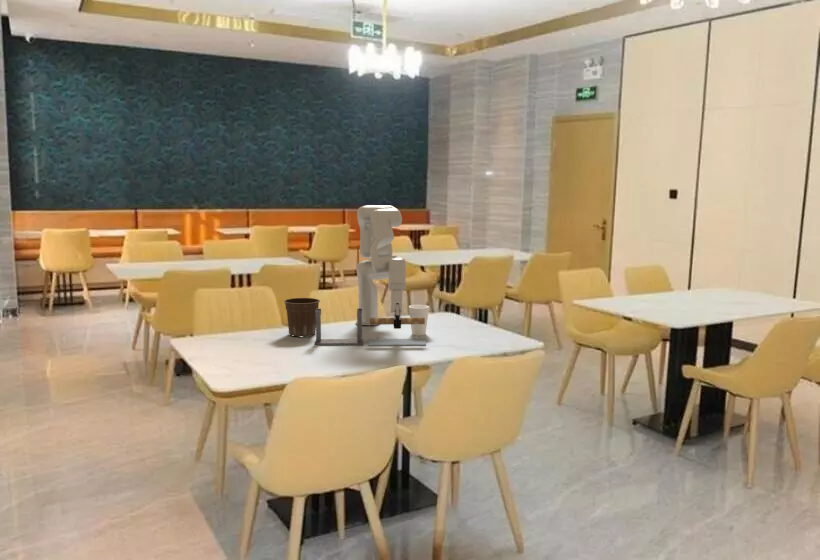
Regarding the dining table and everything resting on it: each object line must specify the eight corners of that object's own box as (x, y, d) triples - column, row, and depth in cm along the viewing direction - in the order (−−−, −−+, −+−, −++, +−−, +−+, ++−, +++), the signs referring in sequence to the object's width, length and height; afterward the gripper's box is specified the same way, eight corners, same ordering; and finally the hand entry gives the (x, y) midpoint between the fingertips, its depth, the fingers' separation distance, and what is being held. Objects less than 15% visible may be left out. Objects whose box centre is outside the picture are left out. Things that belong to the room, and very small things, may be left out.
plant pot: (311, 329, 343) (310, 296, 340) (326, 335, 329) (325, 301, 327) (279, 333, 334) (278, 299, 332) (293, 340, 321) (292, 304, 318)
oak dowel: (369, 325, 312) (369, 318, 312) (370, 323, 315) (370, 317, 315) (424, 324, 313) (424, 318, 313) (424, 323, 316) (424, 316, 316)
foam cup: (428, 336, 329) (428, 308, 327) (408, 336, 329) (408, 308, 327) (428, 331, 338) (428, 304, 336) (409, 331, 339) (409, 304, 337)
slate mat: (369, 340, 320) (369, 338, 320) (424, 339, 321) (424, 338, 321) (368, 346, 310) (368, 344, 310) (426, 345, 311) (426, 344, 310)
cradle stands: (316, 341, 318) (315, 308, 316) (363, 341, 319) (363, 308, 317) (314, 345, 310) (313, 311, 308) (362, 345, 311) (362, 311, 309)
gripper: (388, 283, 320) (388, 324, 322) (388, 289, 304) (388, 331, 306) (405, 283, 320) (405, 323, 323) (406, 289, 304) (406, 331, 306)
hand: (397, 327), depth 314 cm, fingers closed on oak dowel, 3 cm apart
